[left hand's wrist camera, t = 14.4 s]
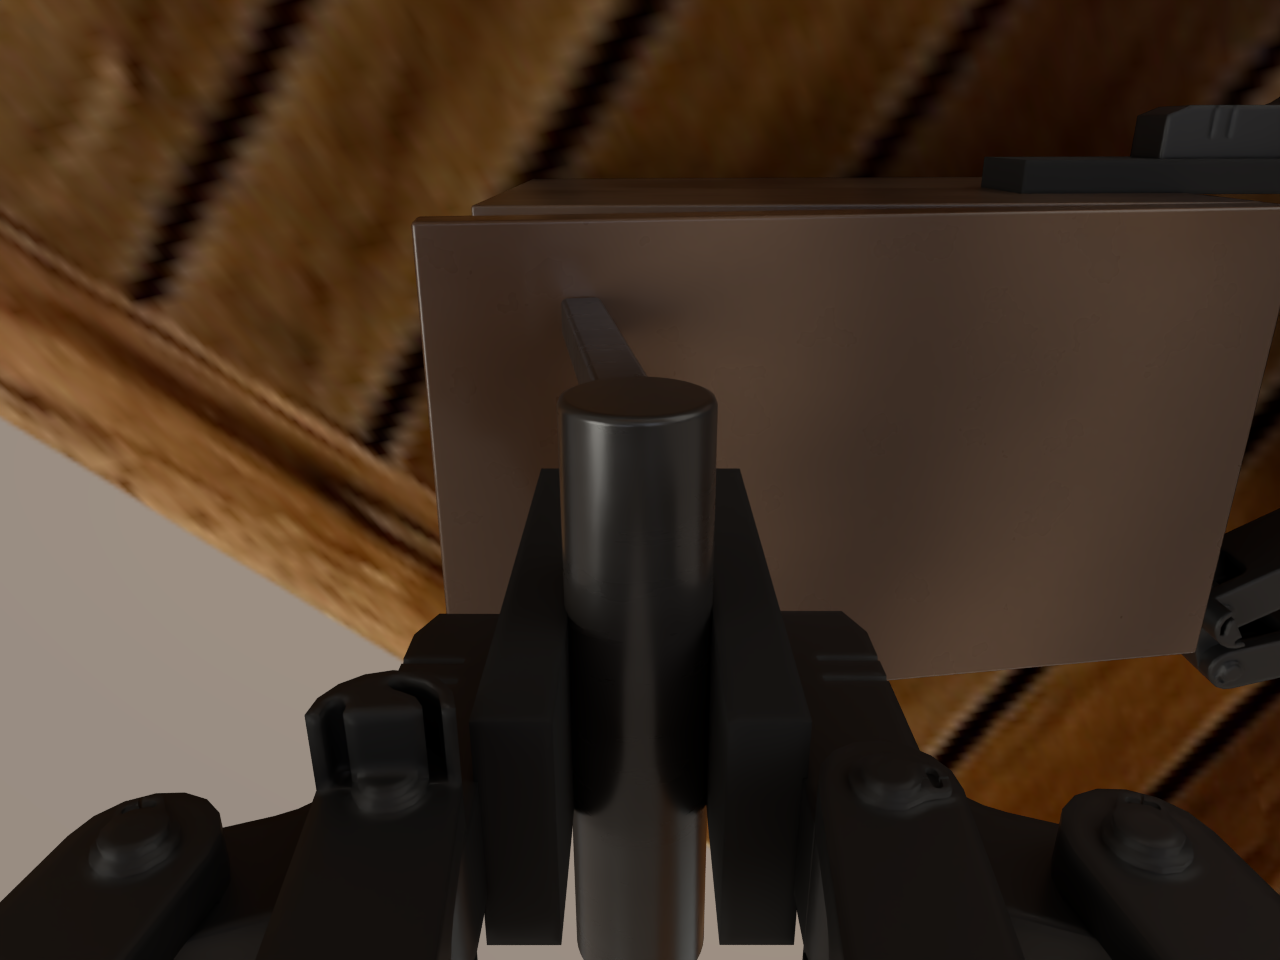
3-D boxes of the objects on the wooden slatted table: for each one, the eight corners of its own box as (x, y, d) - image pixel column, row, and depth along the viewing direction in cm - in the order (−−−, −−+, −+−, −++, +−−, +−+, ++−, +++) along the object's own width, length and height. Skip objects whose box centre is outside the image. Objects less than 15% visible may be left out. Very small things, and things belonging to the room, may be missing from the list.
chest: (545, 472, 32) (499, 630, 22) (532, 178, 29) (470, 205, 18) (1000, 470, 32) (1167, 629, 22) (1043, 176, 29) (1265, 201, 18)
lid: (458, 691, 20) (430, 1090, 11) (415, 216, 16) (332, 303, 8) (1165, 630, 22) (1564, 928, 14) (1263, 201, 18) (1882, 257, 10)
